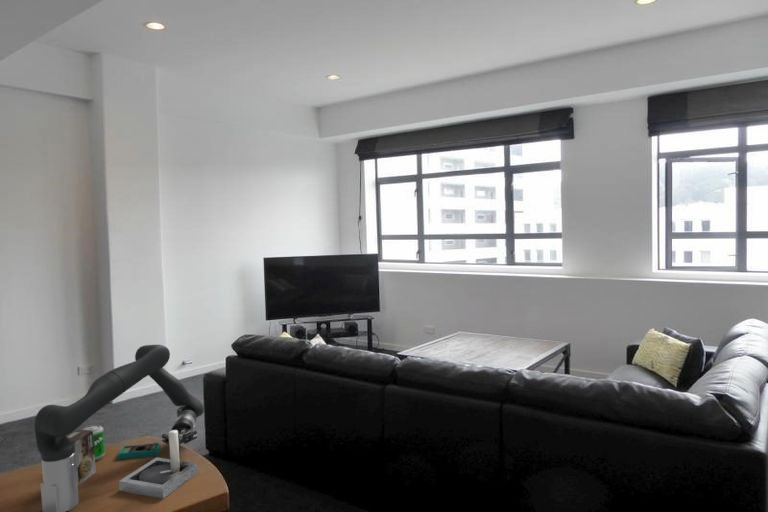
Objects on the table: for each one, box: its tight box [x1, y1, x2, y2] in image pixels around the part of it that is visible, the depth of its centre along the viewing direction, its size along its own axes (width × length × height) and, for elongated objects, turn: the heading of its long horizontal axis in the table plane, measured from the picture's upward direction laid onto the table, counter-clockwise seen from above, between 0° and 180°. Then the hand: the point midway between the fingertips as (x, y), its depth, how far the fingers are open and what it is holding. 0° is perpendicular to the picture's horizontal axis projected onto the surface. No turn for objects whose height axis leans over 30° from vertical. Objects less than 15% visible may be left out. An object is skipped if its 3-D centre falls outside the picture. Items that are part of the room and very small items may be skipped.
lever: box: [139, 429, 181, 485], centre depth 187 cm, size 13×13×16 cm
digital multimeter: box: [117, 442, 162, 460], centre depth 210 cm, size 7×15×3 cm, turn 102°
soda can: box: [82, 424, 106, 462], centre depth 207 cm, size 8×8×12 cm
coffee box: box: [66, 429, 97, 486], centre depth 191 cm, size 9×6×16 cm
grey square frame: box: [118, 456, 199, 499], centre depth 188 cm, size 18×18×4 cm
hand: (175, 446), depth 191 cm, fingers closed
